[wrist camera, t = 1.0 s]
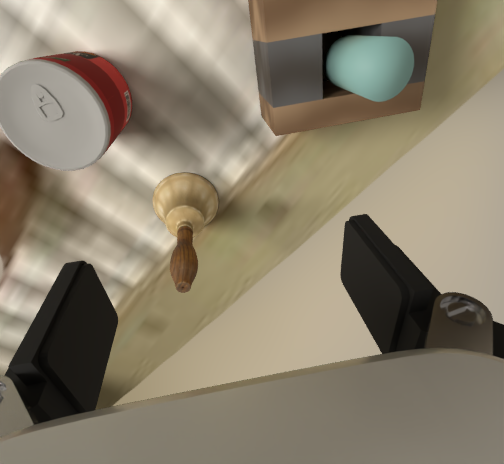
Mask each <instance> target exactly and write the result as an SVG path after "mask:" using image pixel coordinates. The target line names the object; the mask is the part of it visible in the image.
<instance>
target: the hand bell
mask: <svg viewBox="0 0 504 464" xmlns="http://www.w3.org/2000/svg"><path fill="white" fill-rule="evenodd" d="M218 205H219V199H218V195H217V192H216V190H215V188H214V187H213V186H212V184H211V183H210V182H209V181H207V180H206V179H205V178H203V177H201V176H199V175H196V174H192V173H176V174H173V175H170V176H168V177H167V178H165V179H164V180H162V181H161V182H160V183H159V184H158V186H157V187H156V189H155V191H154V195H153V207H154V210H155V212H156V214H157V216H158V217H159V219H160V220H161V221H162V222H164V223H165V224H166V227H167V229H168V231H169V232H170V233H171V234H172V235H174V236H176V237H177V246H176V248H175V249H174V251H173V254H172V257H171V262H170V272H171V276H172V278H173V280H174V283H175V286H176V289H177V291H179V292H181V293H185V292H188V291H189V290H190V288H191V285H192V283H193V281H194V279H195V277H196V274H197V270H198V260H197V255H196V252H195V249H194V248H193V246H192V240H193V237H195V236H197V235H198V234H200V233H201V231H202V230H203V228H204V226H205V225H207V224H208V223H210V222H211V220H212V219H213V218H214V217H215V215H216V213H217V210H218Z"/></svg>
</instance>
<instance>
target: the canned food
mask: <svg viewBox="0 0 504 464" xmlns="http://www.w3.org/2000/svg"><path fill="white" fill-rule="evenodd" d="M131 112H132V99H131V93H130V90H129V88H128V85H127V83H126V81H125V80H124V78H123V76H122V75H121V74H120V73H119V71H118V70H117V69H116V68H115V67H114V66H113V65H112V64H111V63H109V62H108V61H106V60H105V59H103V58H102V57H100V56H97V55H95V54H92V53H88V52H78V51H76V52H70V53H64V54H57V55H51V56H45V57H39V58H34V59H29V60H25V61H20V62H18V63H16V64H14V65H12V66H10V67H8V68H7V69H6V70H5V71H4V72H3V73H2V74H1V75H0V127H1V129H2V130H3V132H4V133H5V135H6V137H7V138H8V139H9V140H10V141H11V142H12V144H13V145H14V146H15V147H16V148H17V149H19V150H20V151H21V152H22V153H23V154H24V155H26V156H27V157H29V158H30V159H32V160H33V161H35V162H37V163H39V164H41V165H43V166H46V167H49V168H53V169H57V170H63V171H75V170H79V169H84V168H86V167H88V166H90V165H92V164H93V163H95V162H96V161H97V160H99V159H100V158H101V157H102V155H103V154H104V153H105V152H106V151H107V150H108V148H109V147H110V146H111V144H112V143H113V142H114V140H115V139H116V138H117V136H118V135H119V134H120V132H121V131H122V130H123V128H124V127H125V125H126V124H127V123H128V121H129V119H130V116H131Z"/></svg>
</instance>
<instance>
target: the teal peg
mask: <svg viewBox="0 0 504 464" xmlns="http://www.w3.org/2000/svg"><path fill="white" fill-rule="evenodd" d="M413 68H414V54H413V51H412V48H411V46H410V45H409V44H408V43H407V42H406V41H405V40H404V39H402V38H399V37H388V36H361V35H347V36H343V37H341V38H339V39H338V40H336V41H335V42H334V43H333V44H332V45H331V47H330V48H329V50H328V52H327V54H326V57H325V62H324V70H325V74H326V77H327V78H328V80H329V81H330V82H331V83H332V84H333V85H335V86H338V87H340V88H343V89H345V90H347V91H350V92H352V93H355V94H357V95H360V96H362V97H364V98H367V99H369V100H372V101H376V102H382V101H387V100H389V99H391V98H393V97H395V96H396V95H398V94H399V93H400V92H401V91H402V90H403V89H404V87H405V86H406V85H407V83H408V81H409V80H410V77H411V75H412V72H413Z"/></svg>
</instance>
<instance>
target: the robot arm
mask: <svg viewBox="0 0 504 464" xmlns="http://www.w3.org/2000/svg"><path fill="white" fill-rule="evenodd" d="M341 280H342V283H343V285H344V287H345V289H346V290H347V292H348V294H349V296H350V297H351V299H352V301H353V303H354V304H355V306H356V308H357V310H358V312H359V313H360V315H361V317H362V319H363V320H364V322H365V324H366V326H367V328H368V329H369V331H370V333H371V335H372V336H373V338H374V340H375V342H376V343H377V345H378V347H379V349H380V351H381V352H382V354H380V355H375V356H368V357H363V358H357V359H351V360H346V361H341V362H335V363H330V364H325V365H320V366H314V367H310V368H304V369H299V370H293V371H289V372H284V373H278V374H273V375H268V376H263V377H258V378H252V379H247V380H242V381H237V382H232V383H227V384H222V385H217V386H212V387H207V388H201V389H197V390H191V391H187V392H182V393H176V394H172V395H167V396H162V397H157V398H152V399H147V400H143V401H137V402H132V403H127V404H122V405H117V406H112V407H108V408H103V409H98V410H95V408H96V405H97V401H98V397H99V393H100V389H101V386H102V382H103V378H104V374H105V370H106V367H107V363H108V359H109V355H110V351H111V347H112V344H113V340H114V336H115V332H116V328H117V325H118V316H117V313H116V311H115V309H114V307H113V305H112V303H111V301H110V299H109V297H108V295H107V293H106V291H105V290H104V288H103V286H102V284H101V282H100V280H99V278H98V276H97V274H96V272H95V270H94V268H93V266H92V265H91V264H87V263H86V262H85V261H77V262H71V263H66V264H65V265H64V266H63V268H62V270H61V271H60V273H59V275H58V277H57V279H56V280H55V282H54V284H53V286H52V288H51V290H50V291H49V293H48V295H47V297H46V299H45V301H44V302H43V304H42V306H41V308H40V310H39V311H38V313H37V315H36V317H35V319H34V321H33V322H32V324H31V326H30V328H29V330H28V332H27V333H26V335H25V337H24V339H23V341H22V342H21V344H20V346H19V348H18V350H17V352H16V353H15V355H14V357H13V359H12V361H11V362H10V364H9V366H8V367H9V368H8V370H7V372H6V374H5V376H0V464H504V325H503V324H500V323H497V322H494V321H493V318H492V314H491V312H490V311H489V309H488V308H487V307H486V306H485V305H484V304H483V303H482V302H480V301H478V300H477V299H475V298H473V297H471V296H468V295H466V294H462V293H456V292H448V293H444V294H441V293H440V292H439V291H438V290H437V289H436V288H435V287H434V286H433V285H432V283H431V282H430V281H429V280H428V279H427V278H426V277H425V276H424V275H423V273H422V272H421V271H420V270H419V269H418V268H417V267H416V266H415V265H414V264H413V262H412V261H411V260H409V258H408V257H407V256H406V255H405V254H404V253H403V251H402V250H401V249H400V248H399V247H398V246H396V245H394V244H393V243H392V242H391V240H390V239H389V238H388V237H387V236H386V235H385V234H384V233H383V231H382V230H381V229H380V228H379V227H378V226H377V225H376V224H375V223H374V221H373V220H372V219H371V218H370V217H369V216H368V215H367V214H363V215H357V216H352V217H350V219H349V221H346V223H345V230H344V241H343V253H342V264H341Z"/></svg>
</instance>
